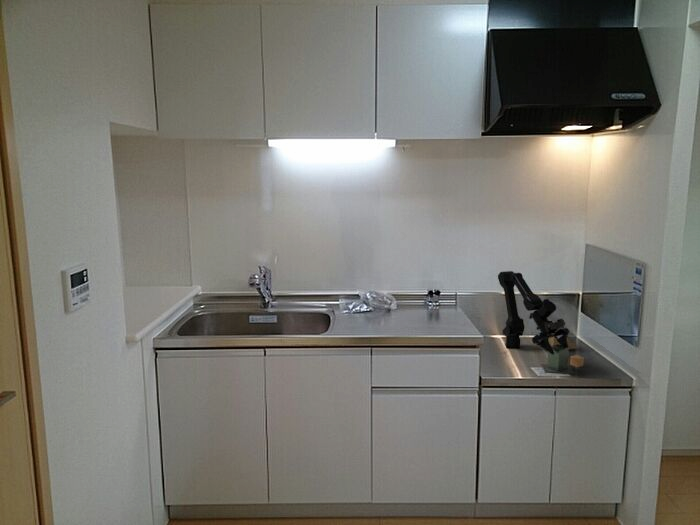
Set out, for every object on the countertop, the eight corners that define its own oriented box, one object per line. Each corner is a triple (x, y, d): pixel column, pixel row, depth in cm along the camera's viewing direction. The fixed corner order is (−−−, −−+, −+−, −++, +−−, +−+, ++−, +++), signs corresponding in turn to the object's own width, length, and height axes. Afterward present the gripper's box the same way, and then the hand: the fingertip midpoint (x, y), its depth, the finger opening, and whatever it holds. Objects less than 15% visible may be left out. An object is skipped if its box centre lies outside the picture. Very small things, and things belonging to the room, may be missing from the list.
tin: (547, 367, 223) (548, 346, 222) (556, 365, 226) (557, 344, 224) (557, 371, 218) (559, 350, 216) (567, 369, 221) (568, 348, 219)
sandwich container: (579, 348, 249) (582, 320, 246) (553, 351, 246) (555, 322, 243) (568, 343, 257) (570, 315, 255) (542, 345, 254) (544, 317, 251)
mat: (545, 372, 219) (545, 371, 219) (541, 364, 228) (541, 363, 228) (573, 374, 217) (573, 373, 217) (568, 366, 225) (568, 365, 225)
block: (569, 364, 228) (570, 356, 227) (575, 363, 230) (576, 354, 229) (577, 367, 224) (578, 359, 224) (583, 365, 226) (583, 357, 226)
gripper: (538, 316, 217) (557, 347, 209) (567, 310, 225) (587, 340, 218) (523, 328, 225) (541, 359, 218) (552, 322, 234) (570, 352, 226)
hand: (560, 352), depth 219 cm, fingers open, 9 cm apart
